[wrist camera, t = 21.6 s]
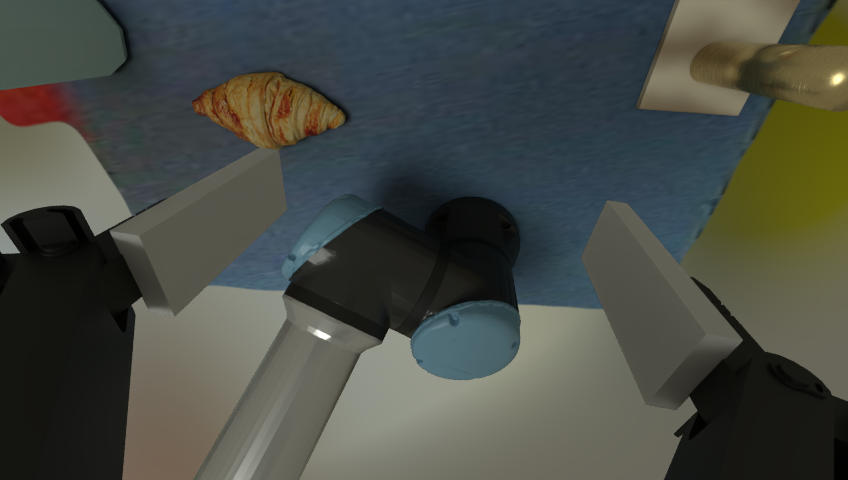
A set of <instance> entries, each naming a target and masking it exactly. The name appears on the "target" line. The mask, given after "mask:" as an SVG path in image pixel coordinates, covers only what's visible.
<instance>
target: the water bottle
mask: <svg viewBox="0 0 848 480" xmlns="http://www.w3.org/2000/svg"><path fill="white" fill-rule="evenodd" d="M126 58H127V51H126V45H125V40H124V35H123V30H122V28H121V27H120V26H119V25H118V23H117V22H116V21H115V20H114V19H113V17H112V16H111V15H110V14H109V12H108V11H107V10H106V9H105V8H104V6H103V5H102V4H101V3H100V2H99V1H97V0H0V90H5V89H13V88H20V87H28V86H35V85H43V84H50V83H58V82H65V81H72V80H80V79H87V78H95V77H102V76H110V75H111V74H112V73H113V72H115V71H116V70H117V69H118V68H119V67H120V66H121V65H122V64H123V63H124V62H125V61H126Z"/></svg>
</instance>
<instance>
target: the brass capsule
mask: <svg viewBox="0 0 848 480" xmlns="http://www.w3.org/2000/svg"><path fill="white" fill-rule="evenodd" d="M690 74H691V77H692V78H693V79H694V80H695V81H696V82H699V83H704V84H708V85H713V86H718V87H722V88H727V89H732V90H736V91H741V92H746V93H750V94H755V95H760V96H764V97H769V98H774V99H779V100H783V101H788V102H793V103H798V104H802V105H807V106H811V107H816V108H821V109H826V110H830V111H846V110H848V46H832V45H804V44H775V43H746V42H714V43H711V44H708V45H707V46H705V47H704V48H702V49H701V50H700V51H699V52H698V53H697V54H696V55H695V57H694V59H693V60H692V63H691V66H690Z"/></svg>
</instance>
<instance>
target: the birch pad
mask: <svg viewBox="0 0 848 480" xmlns="http://www.w3.org/2000/svg"><path fill="white" fill-rule="evenodd" d="M799 2H800V0H675V2H674V5H673V8H672V10H671V13H670V16H669V18H668V21H667V24H666V27H665V29H664V32H663V35H662V37H661V40H660V43H659V45H658V48H657V51H656V53H655V56H654V59H653V61H652V64H651V67H650V70H649V72H648V75H647V78H646V80H645V83H644V86H643V88H642V91H641V94H640V96H639V99H638V102H637V104H636V108H638V109H650V110H664V111H678V112H692V113H706V114H720V115H734V116H738V115H739V113H740V111H741V109H742V107H743V106H744V104H745V102H746V100H747V98H748V96H749V94H750V93H746V92H741V91H736V90H732V89H727V88H722V87H718V86H713V85H708V84H704V83H699V82H696V81H695V80H694V79H693V78H692V77H691V74H690V66H691V63H692V60H693V59H694V57H695V55H696V54H697V53H698V52H699V51H700V50H701V49H702V48H704V47H705V46H707V45H708V44H711V43H714V42H746V43H775V44H777V43H778V41H779V39H780V37H781V35H782V33H783V31H784V30H785V28H786V26H787V24H788V22H789V20H790V18H791V17H792V15H793V13H794V11H795V9H796V7H797V5H798V4H799Z"/></svg>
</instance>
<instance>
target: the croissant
mask: <svg viewBox="0 0 848 480" xmlns="http://www.w3.org/2000/svg"><path fill="white" fill-rule="evenodd" d="M192 105H193V108H194V111H195V112H196V113H198V114H199V115H202V116H208V117H209V118H210V119H211V120H212V121H214V122H215V123H217V124H219V125H221V126H222V127H225V128H227V129H229V130H231V131H232V132H235V134H236V136H238V137H239V138H241V139H243V140H245V141H249V142H251V143H253V144H254V145H256V146H257V147H259V148H260V147H262V148H268V149H275V150H280V149H281V148H282V147H283V146H285V145H294V144H297V142H298V141H299V140H300V139H302V138H304V137H307V136H314V135H318V134H320V133H321V132H323V131H326V130H327V128H328V127H329V128H330V129H335V128H337V127H338V126H340V125H342V124H344V122H345V118H346V116H345V115H344V113H343V112H342V111H341V110H340V109H338V108H337V107H336V106H335V105H333V104H332V103H330V102H329V101H328V100H327V99H325V98H324V97H323V96H322V95H321V94H319V93H317V92H315V91H314V90H312V89H311V88H309V87H307V86H305V85H303V84H301V83H298V82H295V81H292V80H289V79H286V78H285V76H284V75H283V74H281V73H278V72H265V73H253V74H244V75H240V76H237V77H235V78H232V79H230V80H229V81H228V82H225V83H223V84H222V85H220V86H218V87H216V89H208V90H205V91H204V92H203V94H202V95H201V96H199V97H198V98H197V99H195V100H193V101H192Z"/></svg>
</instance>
